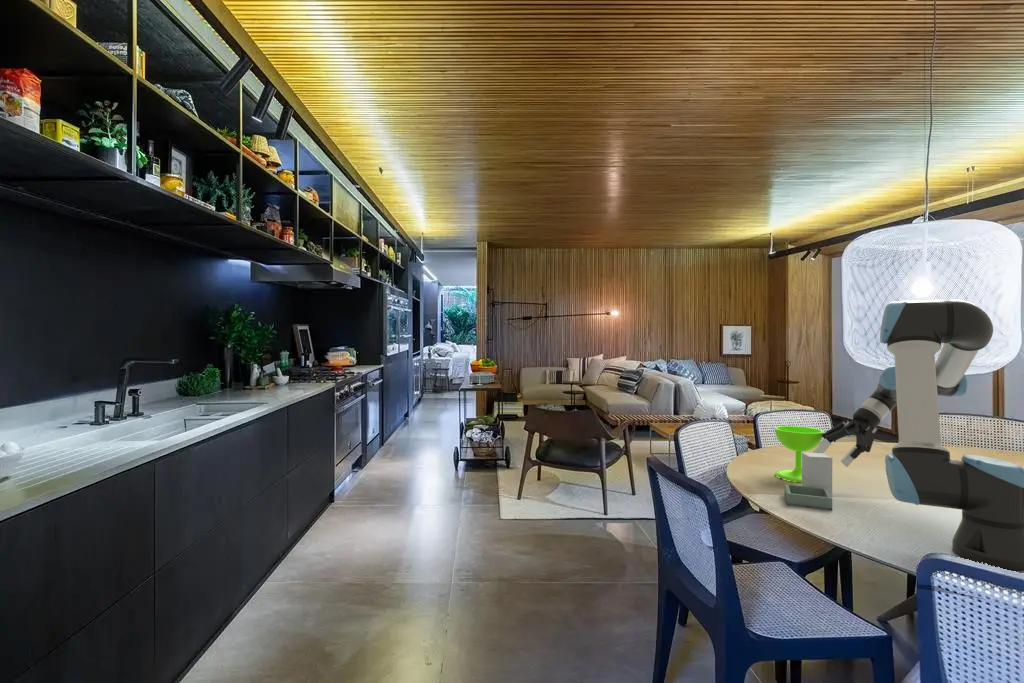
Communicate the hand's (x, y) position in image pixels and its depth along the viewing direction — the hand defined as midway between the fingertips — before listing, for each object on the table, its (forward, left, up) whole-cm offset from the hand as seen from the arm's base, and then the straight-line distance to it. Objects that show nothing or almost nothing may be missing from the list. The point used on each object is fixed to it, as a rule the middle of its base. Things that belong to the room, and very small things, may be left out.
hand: (829, 459), depth 180 cm
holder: (-17, +8, -11) cm, 22 cm away
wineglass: (+15, +8, -11) cm, 20 cm away
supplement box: (-3, +4, -11) cm, 12 cm away
